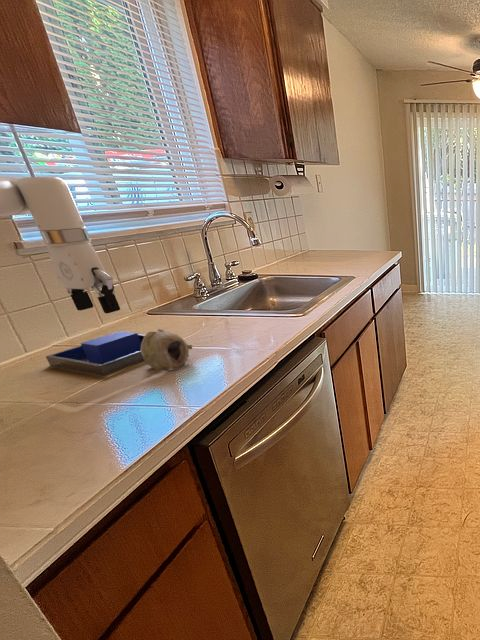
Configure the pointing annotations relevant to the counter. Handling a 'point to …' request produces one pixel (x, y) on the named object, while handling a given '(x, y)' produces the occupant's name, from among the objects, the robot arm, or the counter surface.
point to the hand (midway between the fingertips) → (99, 310)
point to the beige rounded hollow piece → (164, 350)
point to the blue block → (111, 346)
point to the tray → (80, 362)
